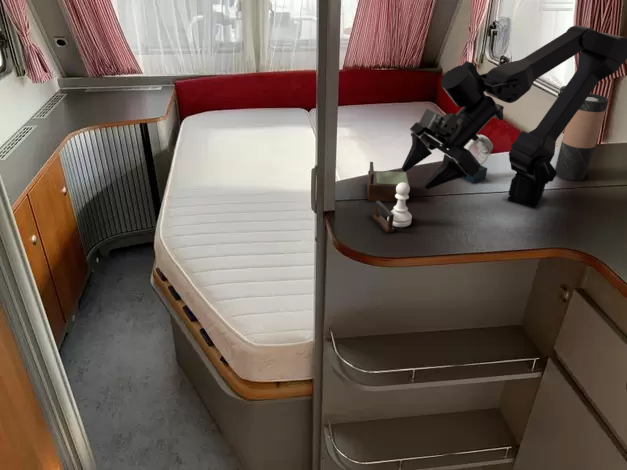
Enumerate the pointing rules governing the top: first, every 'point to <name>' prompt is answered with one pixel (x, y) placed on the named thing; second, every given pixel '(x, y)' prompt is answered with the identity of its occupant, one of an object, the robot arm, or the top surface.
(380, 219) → the low rail
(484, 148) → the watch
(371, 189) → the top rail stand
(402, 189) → the chess pawn
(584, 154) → the travel mug
